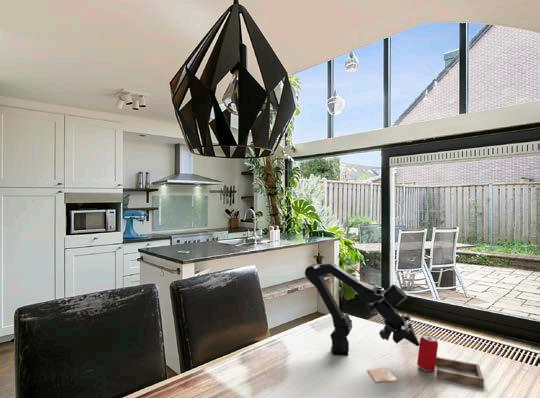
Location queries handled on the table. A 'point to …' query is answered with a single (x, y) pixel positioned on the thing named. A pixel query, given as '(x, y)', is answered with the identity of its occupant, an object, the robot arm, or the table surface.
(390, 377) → the terracotta tile
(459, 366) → the walnut corral
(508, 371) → the table surface
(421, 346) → the beverage can
